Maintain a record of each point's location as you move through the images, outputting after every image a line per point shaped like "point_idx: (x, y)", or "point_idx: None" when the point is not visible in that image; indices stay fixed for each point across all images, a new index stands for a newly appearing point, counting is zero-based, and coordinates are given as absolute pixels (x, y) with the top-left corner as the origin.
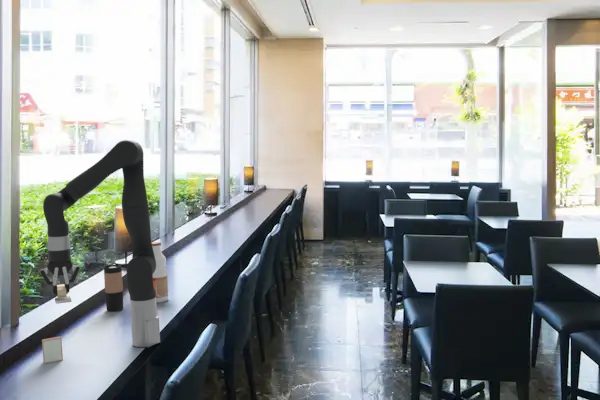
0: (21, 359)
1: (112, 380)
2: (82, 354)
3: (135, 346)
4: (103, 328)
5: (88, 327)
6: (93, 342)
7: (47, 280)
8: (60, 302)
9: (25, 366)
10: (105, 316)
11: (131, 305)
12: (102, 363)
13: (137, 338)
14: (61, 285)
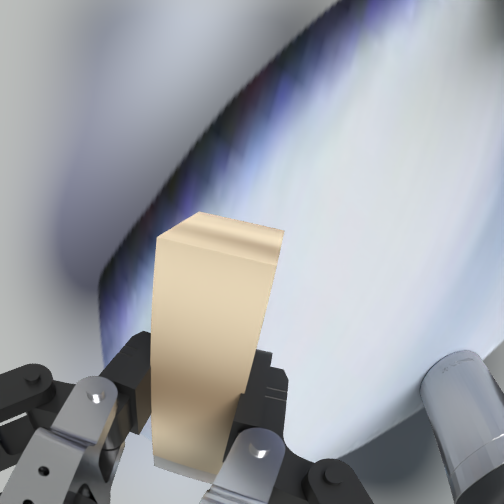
0: (131, 253)
1: None
2: (290, 348)
3: (420, 390)
4: (455, 135)
5: (415, 73)
6: (366, 268)
7: (25, 441)
8: (179, 470)
9: (137, 316)
10: (486, 15)
11: (455, 480)
12: (302, 427)
13: (427, 413)
14: (217, 322)
